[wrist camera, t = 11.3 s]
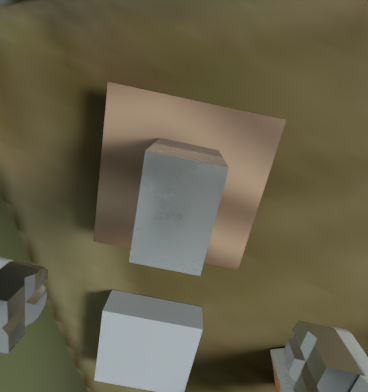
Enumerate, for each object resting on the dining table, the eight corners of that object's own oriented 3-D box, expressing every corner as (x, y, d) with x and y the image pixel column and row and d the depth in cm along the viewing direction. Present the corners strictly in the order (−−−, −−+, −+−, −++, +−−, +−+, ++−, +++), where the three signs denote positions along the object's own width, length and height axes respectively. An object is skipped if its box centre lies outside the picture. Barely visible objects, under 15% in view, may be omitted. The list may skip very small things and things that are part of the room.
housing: (198, 231, 21) (200, 276, 16) (146, 221, 21) (129, 262, 16) (218, 150, 19) (228, 167, 13) (160, 137, 19) (145, 150, 13)
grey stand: (184, 370, 31) (182, 396, 28) (103, 355, 31) (94, 380, 28) (201, 306, 28) (202, 329, 25) (112, 289, 27) (102, 310, 25)
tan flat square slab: (233, 251, 25) (237, 269, 22) (104, 226, 25) (93, 241, 22) (274, 118, 21) (286, 120, 18) (119, 85, 21) (107, 81, 18)
